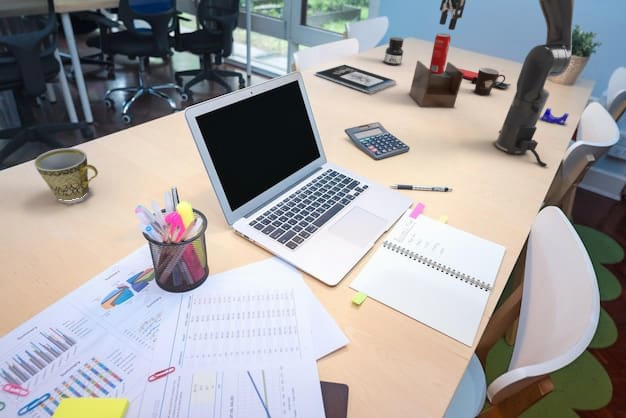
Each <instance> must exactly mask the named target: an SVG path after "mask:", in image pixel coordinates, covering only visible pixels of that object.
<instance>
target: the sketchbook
mask: <svg viewBox="0 0 626 418" xmlns="http://www.w3.org/2000/svg"><path fill="white" fill-rule="evenodd" d="M315 76H317V77H320V78H323V79H326V80H329V81H331V82H334V83H337V84H340V85H343V86H346V87H349V88H352V89H353V90H354V89H355V90H357V91H360V92H364V93H366V94H367V95H368V94H369V95H371V94H374V93H376V92H378V91H381V90H383V89H386V88H389V87H391V86H394V85H396V84H397V80H396V79H392V78H389V77H386V76H381V75H379V74H376V73H373V72H371V71H367V70H364V69H361V68H357V67H355V66H351V65H347V64H341V65H338V66H334V67H331V68H327V69H323V70H320V71H317V72H315Z"/></svg>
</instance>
